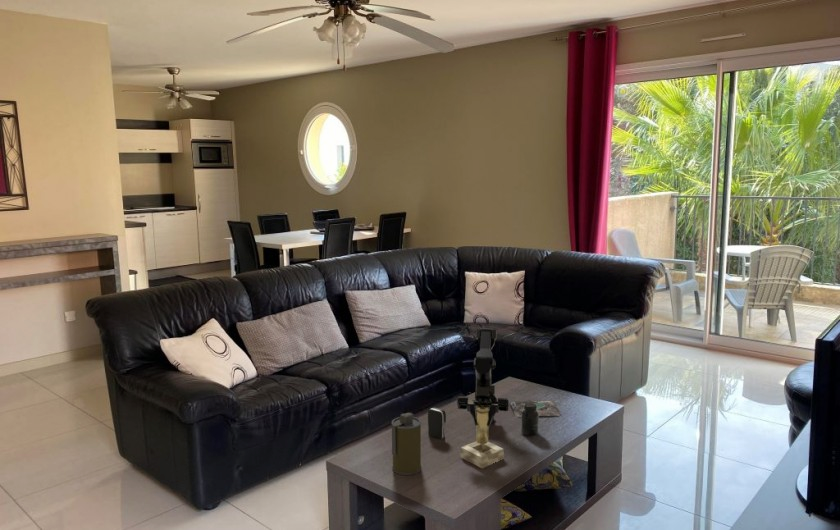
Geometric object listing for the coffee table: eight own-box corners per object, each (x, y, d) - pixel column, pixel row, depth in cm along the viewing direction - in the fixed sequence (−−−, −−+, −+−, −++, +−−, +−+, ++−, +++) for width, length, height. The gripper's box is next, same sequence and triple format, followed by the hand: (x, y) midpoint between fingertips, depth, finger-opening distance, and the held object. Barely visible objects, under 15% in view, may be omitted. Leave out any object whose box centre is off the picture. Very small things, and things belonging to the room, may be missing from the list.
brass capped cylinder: (472, 441, 224) (472, 407, 222) (482, 437, 227) (482, 403, 225) (482, 445, 220) (482, 411, 218) (492, 441, 224) (492, 407, 222)
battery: (447, 436, 243) (447, 409, 242) (441, 440, 240) (441, 412, 239) (433, 432, 248) (432, 405, 246) (427, 435, 245) (427, 408, 243)
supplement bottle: (538, 437, 242) (538, 408, 240) (520, 436, 243) (521, 407, 242) (538, 430, 249) (539, 402, 247) (521, 429, 250) (521, 401, 248)
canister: (409, 458, 225) (408, 406, 222) (427, 469, 217) (427, 415, 214) (385, 467, 218) (384, 414, 215) (403, 478, 210) (402, 423, 207)
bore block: (460, 457, 226) (461, 447, 225) (482, 448, 233) (482, 438, 232) (482, 468, 217) (482, 457, 217) (503, 459, 224) (503, 448, 224)
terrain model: (515, 419, 261) (515, 412, 261) (509, 406, 276) (509, 399, 276) (562, 418, 262) (562, 411, 262) (553, 405, 277) (553, 398, 277)
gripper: (457, 375, 225) (455, 416, 216) (508, 377, 223) (508, 418, 214) (459, 388, 234) (456, 427, 225) (508, 390, 232) (508, 430, 223)
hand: (482, 425), depth 221 cm, fingers closed on brass capped cylinder, 4 cm apart
